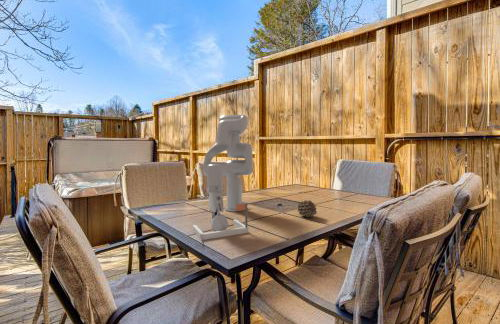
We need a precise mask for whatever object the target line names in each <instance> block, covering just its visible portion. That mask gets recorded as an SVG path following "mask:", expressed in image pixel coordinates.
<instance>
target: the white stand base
mask: <svg viewBox="0 0 500 324" xmlns="http://www.w3.org/2000/svg"><path fill="white" fill-rule="evenodd" d="M240 210H242V211H244V212H245V213H244V216H245V217H244V222H245V223H243V222H241V221H239V220H238V219H233V221H232V222H233V224H232V225H233V226H235V228H228V229H225V230H221V231H209V232H204V231H202V230H201V229H200V228H199V227H198V226H197V224H193V225H192V231H193V233H196V234H195V235H196V236H197V237H198V238H199V240H200V241H205V240H211V239H216V238H217V239H218V238H224V237H230V236H235V235H243V234H248V233H249V226H248V205H247V203H246V202H245V203H244V204H236V211H235V212H241V211H240Z"/></svg>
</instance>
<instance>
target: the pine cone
mask: <svg viewBox="0 0 500 324" xmlns="http://www.w3.org/2000/svg"><path fill="white" fill-rule="evenodd" d="M293 205H294V207H296V211H297V212H298V214H299V215H300V216H303V217H306V218H307V217H308V218H309V217H313V216H315V215H317V213H318V211H317V205H316V204H315V202H313V201H312V200H309V199H305V200H302V201H301V202H299V203H298V204H297V202H296V201H294V202H293Z"/></svg>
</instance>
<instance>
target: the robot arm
mask: <svg viewBox="0 0 500 324" xmlns="http://www.w3.org/2000/svg"><path fill="white" fill-rule="evenodd" d="M248 125H249V119H248V116H247V115H245V114H226V115H224V114H223V115H221V116H219V119H218V124H217V128H216V129H217V130H216V134H215V135H216V136H215V142H214V145H212V146H211V147H210V148H209V149H208V151H207V152H206V153H205V154H204V155H205V156H204V158H203V164H202V172H203V175H204V176H206V177H207V179H206V181H207V186H206V187H207V193H208V208H209V210H210V211H211V219H212V218H214V217H215V216H216V215H217V214H218V215H220V214H221V212H222V213H223V212H224V211H227V212H237V211H236V204H244V203H247V206H249V204H250V202H249V201H243V193H242V192H243V186H242V185H243V181H242V180H241V178H240V177H239V176H251V175H252V173H253V171H254V170H253V169H254V167H253V165H254V164H253V147H252V144H251V143H248V142H241V140H240V139H241V138H240V137H241V135H243V133H244V132H246V129H247V127H248ZM225 151H226V155H227V157H228V158H232V159H229V160H227V161H226V162H218V161H217V162H216V161H215V162H214V161H213V162H212V160H213V158H214V157H216V156H217V155H218V154H221V153H223V152H225ZM223 178H226V206H225V207H224V197H223V190H224V189H223V186H224V183H223ZM241 211H243V210H240V211H239V212H241Z"/></svg>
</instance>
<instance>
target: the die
mask: <svg viewBox="0 0 500 324" xmlns="http://www.w3.org/2000/svg"><path fill="white" fill-rule="evenodd" d="M209 223H210V228H211V229H212V232H215V231H221V230H228V229H229V227H230V224H229V221H228V219H227V216H226V215H224V214H221V213H220V215H218V214H217V215H216V216H215V217H214V218H212V217H211V219H210V220H209ZM227 228H228V229H227Z"/></svg>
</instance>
